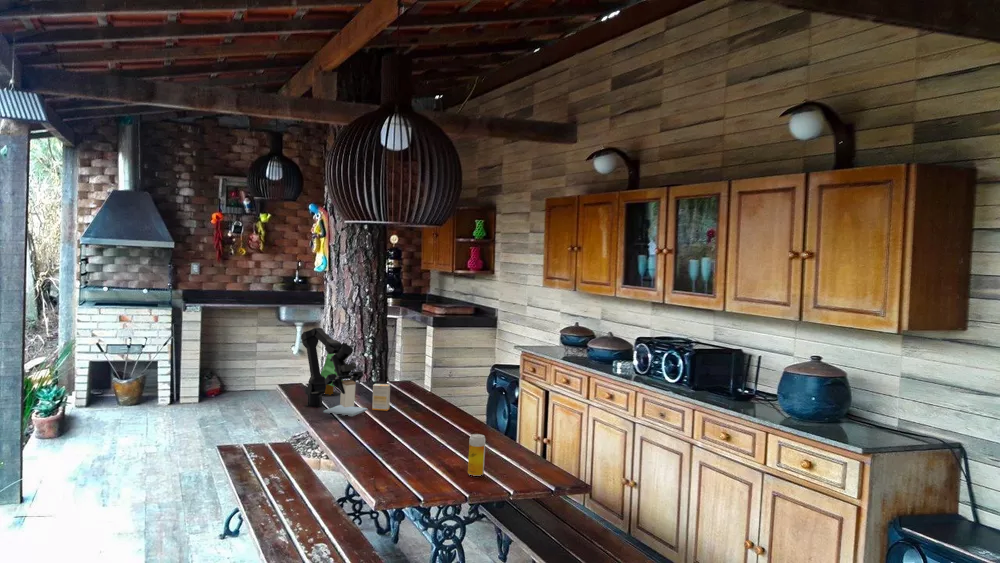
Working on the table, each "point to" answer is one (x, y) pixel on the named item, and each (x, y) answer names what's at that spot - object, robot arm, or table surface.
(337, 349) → the robot arm
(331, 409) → the slate mat
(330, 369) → the decorative tree
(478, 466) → the beer glass
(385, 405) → the supplement box
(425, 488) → the table surface
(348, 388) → the tan block
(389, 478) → the table surface
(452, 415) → the table surface
